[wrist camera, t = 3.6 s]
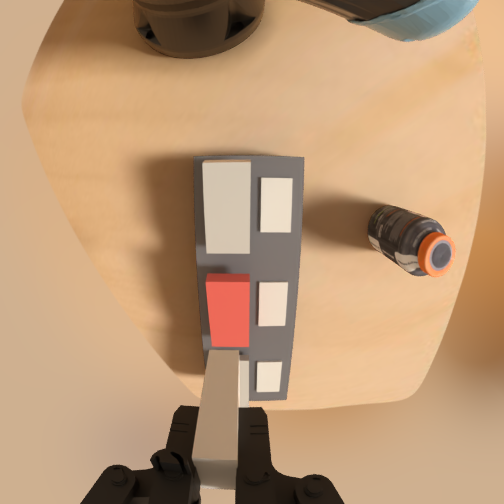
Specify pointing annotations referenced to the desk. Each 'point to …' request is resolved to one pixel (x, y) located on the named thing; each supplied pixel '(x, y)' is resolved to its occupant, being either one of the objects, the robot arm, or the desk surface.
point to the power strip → (261, 268)
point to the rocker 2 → (244, 380)
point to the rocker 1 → (227, 206)
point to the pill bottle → (411, 241)
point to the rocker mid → (228, 309)
